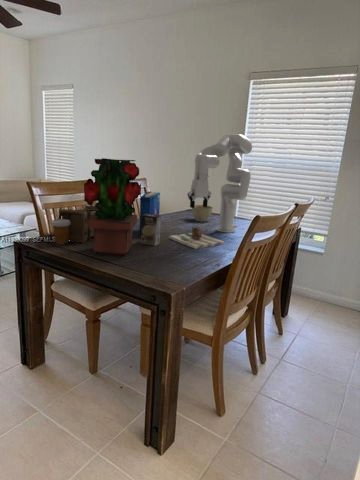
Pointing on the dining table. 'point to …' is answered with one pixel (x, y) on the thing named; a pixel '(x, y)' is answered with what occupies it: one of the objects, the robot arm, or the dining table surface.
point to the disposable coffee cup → (61, 230)
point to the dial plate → (196, 241)
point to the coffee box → (150, 229)
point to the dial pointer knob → (196, 233)
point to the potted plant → (113, 205)
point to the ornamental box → (79, 222)
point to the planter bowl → (201, 212)
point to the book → (149, 205)
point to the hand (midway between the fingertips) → (198, 207)
